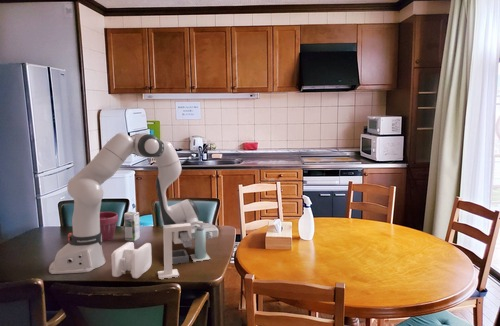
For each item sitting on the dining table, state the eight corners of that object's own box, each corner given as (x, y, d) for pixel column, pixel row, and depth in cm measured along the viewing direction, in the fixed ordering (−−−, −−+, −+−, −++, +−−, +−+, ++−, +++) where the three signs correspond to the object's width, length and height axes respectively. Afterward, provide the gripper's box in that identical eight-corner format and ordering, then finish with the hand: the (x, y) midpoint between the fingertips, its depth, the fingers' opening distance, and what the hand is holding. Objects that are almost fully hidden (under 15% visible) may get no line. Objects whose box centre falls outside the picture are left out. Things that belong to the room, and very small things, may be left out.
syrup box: (124, 240, 197) (123, 213, 195) (130, 236, 202) (129, 210, 200) (134, 241, 195) (133, 214, 193) (140, 237, 201) (139, 211, 199)
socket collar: (168, 265, 166) (168, 258, 165) (165, 257, 174) (165, 251, 174) (188, 262, 169) (188, 256, 168) (185, 255, 177) (185, 249, 177)
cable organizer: (134, 282, 149) (133, 254, 147) (110, 279, 151) (109, 252, 149) (152, 267, 163) (151, 241, 162) (130, 265, 165) (129, 239, 164)
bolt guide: (159, 279, 151) (158, 229, 148) (157, 273, 157) (156, 225, 154) (192, 275, 156) (191, 226, 153) (189, 269, 161) (189, 222, 158)
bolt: (183, 249, 142) (182, 239, 141) (174, 232, 162) (174, 223, 161) (193, 248, 143) (193, 238, 143) (183, 231, 163) (183, 223, 162)
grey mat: (193, 262, 169) (193, 261, 169) (190, 256, 176) (190, 254, 176) (210, 260, 171) (210, 258, 171) (206, 254, 179) (206, 252, 179)
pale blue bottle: (196, 259, 171) (195, 230, 169) (193, 255, 175) (193, 227, 174) (206, 258, 172) (206, 229, 171) (204, 254, 177) (204, 226, 175)
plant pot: (109, 243, 191) (108, 219, 190) (84, 242, 194) (83, 218, 192) (123, 234, 205) (122, 212, 204) (99, 233, 208) (98, 210, 206)
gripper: (173, 225, 181) (177, 234, 168) (214, 221, 188) (221, 229, 175) (173, 238, 182) (177, 247, 169) (214, 233, 188) (221, 242, 176)
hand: (200, 238), depth 172 cm, fingers open, 8 cm apart
